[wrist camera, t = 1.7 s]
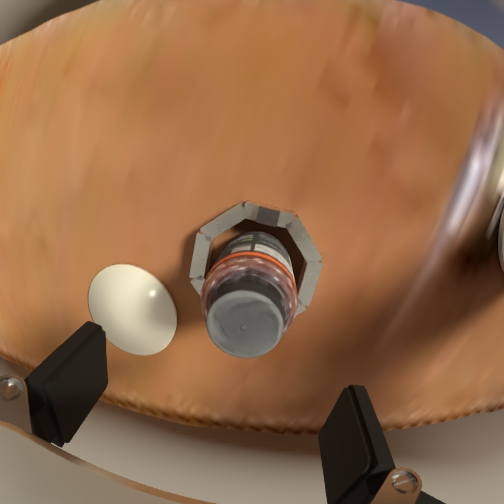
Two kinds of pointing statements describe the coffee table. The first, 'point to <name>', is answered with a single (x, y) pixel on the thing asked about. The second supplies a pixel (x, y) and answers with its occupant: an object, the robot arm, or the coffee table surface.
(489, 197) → the coffee table surface
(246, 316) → the supplement bottle
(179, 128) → the coffee table surface
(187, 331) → the coffee table surface
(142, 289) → the coaster
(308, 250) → the ring holder
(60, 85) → the coffee table surface
